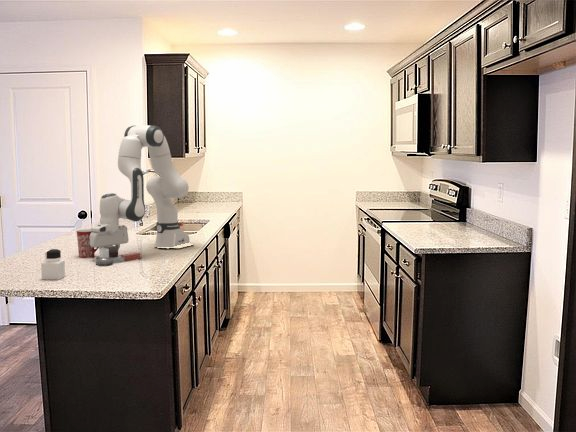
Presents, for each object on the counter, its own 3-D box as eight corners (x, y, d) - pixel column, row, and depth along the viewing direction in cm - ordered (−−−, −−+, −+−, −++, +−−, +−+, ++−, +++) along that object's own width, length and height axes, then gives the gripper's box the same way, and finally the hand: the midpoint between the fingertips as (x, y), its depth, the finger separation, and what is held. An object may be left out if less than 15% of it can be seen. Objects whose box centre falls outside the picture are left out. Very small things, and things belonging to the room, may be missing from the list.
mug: (74, 258, 276) (73, 231, 274) (80, 254, 285) (79, 228, 283) (100, 258, 276) (99, 231, 275) (105, 255, 285) (104, 229, 284)
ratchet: (133, 257, 281) (133, 242, 280) (143, 259, 276) (143, 244, 275) (92, 264, 263) (92, 248, 262) (102, 266, 258) (101, 250, 257)
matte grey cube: (111, 256, 281) (111, 245, 280) (118, 258, 278) (118, 246, 277) (101, 258, 277) (101, 246, 276) (108, 260, 273) (108, 247, 273)
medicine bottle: (65, 276, 239) (64, 248, 237) (58, 279, 231) (58, 251, 230) (48, 275, 238) (47, 248, 237) (41, 279, 231) (40, 251, 230)
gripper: (123, 224, 285) (123, 250, 287) (87, 228, 269) (88, 256, 271) (130, 225, 282) (131, 252, 283) (95, 229, 265) (95, 258, 267)
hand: (109, 254), depth 277 cm, fingers closed on matte grey cube, 6 cm apart
